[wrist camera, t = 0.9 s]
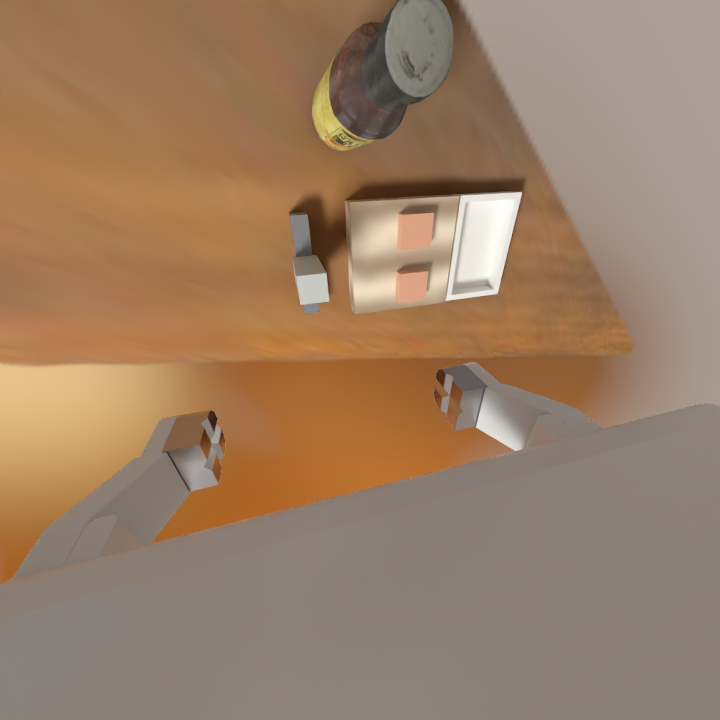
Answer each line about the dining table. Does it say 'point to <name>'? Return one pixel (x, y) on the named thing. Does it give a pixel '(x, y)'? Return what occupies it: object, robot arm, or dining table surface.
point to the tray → (481, 243)
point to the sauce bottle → (383, 74)
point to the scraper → (307, 266)
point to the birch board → (396, 250)
